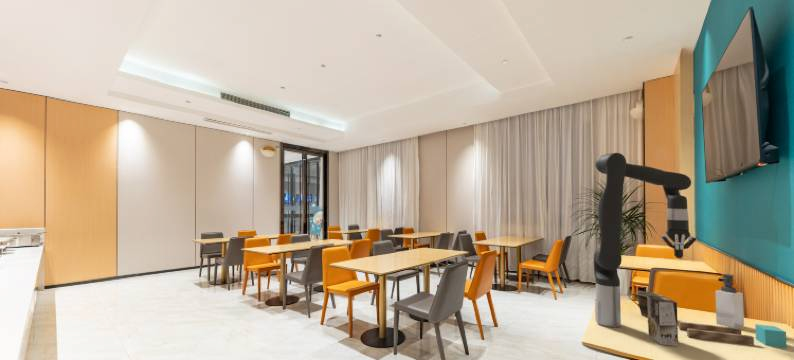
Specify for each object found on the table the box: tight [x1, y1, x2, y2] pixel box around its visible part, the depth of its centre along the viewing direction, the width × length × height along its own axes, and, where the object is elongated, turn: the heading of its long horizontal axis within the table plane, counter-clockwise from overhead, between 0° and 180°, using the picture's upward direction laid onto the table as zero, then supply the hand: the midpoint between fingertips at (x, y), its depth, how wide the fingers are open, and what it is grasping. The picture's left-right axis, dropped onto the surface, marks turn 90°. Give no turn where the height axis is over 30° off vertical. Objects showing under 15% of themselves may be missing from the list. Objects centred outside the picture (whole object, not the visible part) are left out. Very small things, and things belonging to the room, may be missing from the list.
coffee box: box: [647, 295, 679, 347], centre depth 135 cm, size 9×6×16 cm
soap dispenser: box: [715, 273, 745, 329], centre depth 153 cm, size 6×9×22 cm
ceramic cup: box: [628, 291, 662, 318], centre depth 165 cm, size 13×10×10 cm
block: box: [754, 323, 788, 349], centre depth 133 cm, size 6×6×6 cm
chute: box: [678, 321, 755, 346], centre depth 140 cm, size 20×10×3 cm, turn 69°
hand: (678, 257), depth 155 cm, fingers closed
